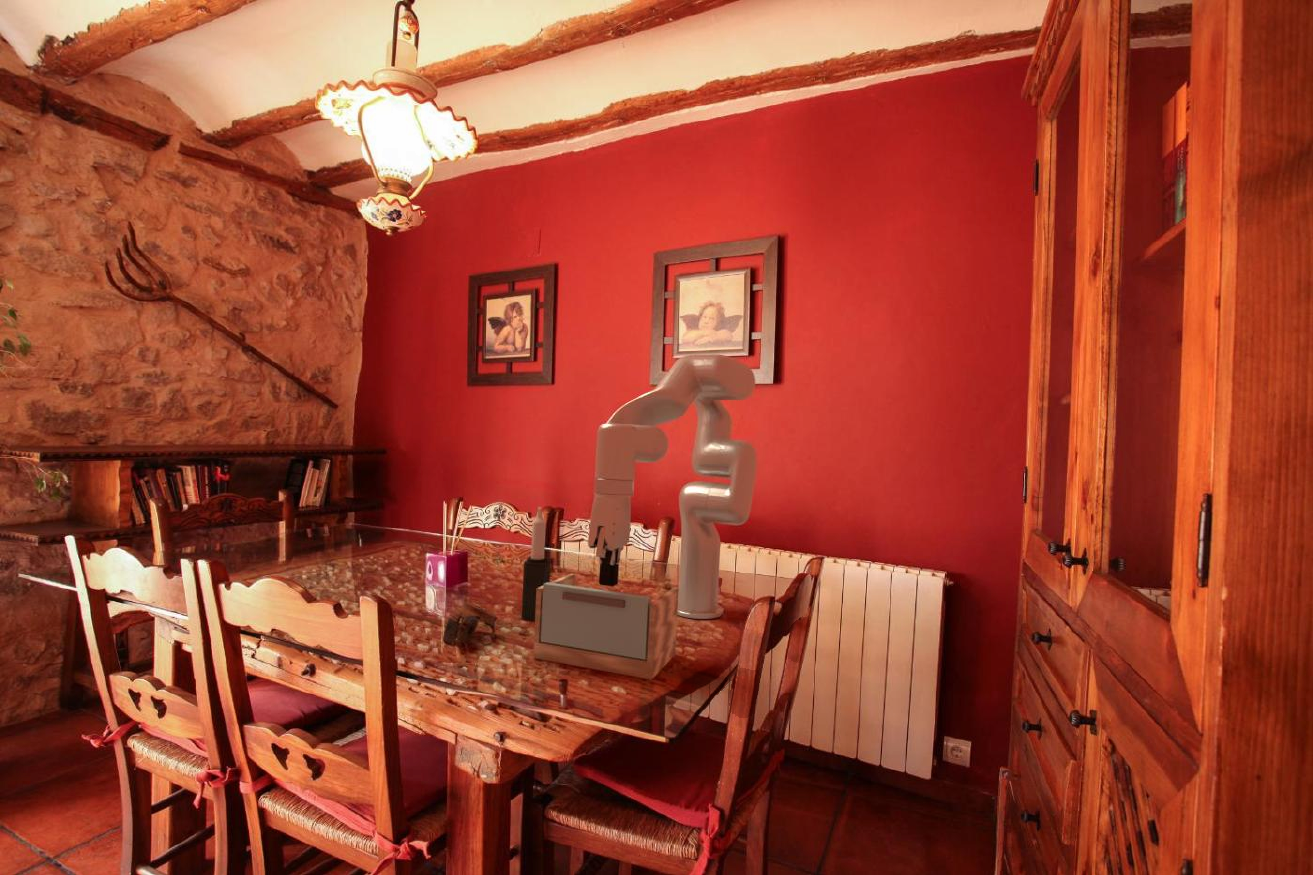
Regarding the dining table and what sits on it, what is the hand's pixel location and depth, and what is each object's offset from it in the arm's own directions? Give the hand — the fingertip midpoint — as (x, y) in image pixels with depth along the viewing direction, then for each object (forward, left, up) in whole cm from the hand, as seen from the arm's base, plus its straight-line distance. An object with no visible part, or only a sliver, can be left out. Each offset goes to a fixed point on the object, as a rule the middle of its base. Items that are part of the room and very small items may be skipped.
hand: (608, 584), depth 119 cm
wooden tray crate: (0, 0, -14) cm, 14 cm away
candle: (-15, -24, -14) cm, 32 cm away
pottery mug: (+4, -28, -14) cm, 31 cm away
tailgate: (+7, 0, -11) cm, 13 cm away
